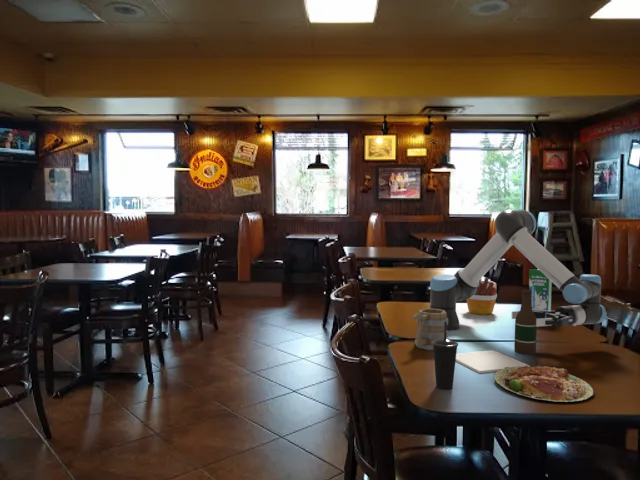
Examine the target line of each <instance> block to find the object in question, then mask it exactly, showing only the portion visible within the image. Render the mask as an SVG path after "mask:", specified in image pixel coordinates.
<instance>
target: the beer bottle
mask: <svg viewBox="0 0 640 480" xmlns="http://www.w3.org/2000/svg"><path fill="white" fill-rule="evenodd" d="M521 293H522V294H521V303H520V308H519V310H518V311H519V313H518V314H517V316H516V319H514V320H515V321H514V345H513V346H514V347H513V348H514V352H516V353H517V354H519V355H520V354H521V355H527V356H529V355H535V353H536V351H537V334H538V333H537V330H538V329H537V328H538V327H537V326H536V316H535V314H534V312H533V311H532V299H531V293H532V290H531V289H529V288H523V289H522V290H521Z"/></svg>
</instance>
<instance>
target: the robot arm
mask: <svg viewBox="0 0 640 480" xmlns="http://www.w3.org/2000/svg"><path fill="white" fill-rule="evenodd" d="M494 220H495V221H494V228H495V231H496V232H495V234H494V235H493V236H492V237H491V238H490V239H489V241H488V242H486V244H485V245H484V246H483V247H482V248H481V249H480V251H478V253H477V254H476V255H475V256H474V257H473V258H472V259H471V261H469V263H468V264H467V265H466V266H465V267H464V268H459V269H458V270H457V271H456V272H455V274H454V275H453V274H438V275H434V276H433V277H431V279H430V284H429V288H430V289H429V290H430V291H429V295H430V296H429V309H440V310H444V311H445V312H446V313H447V318H448V325H447V331H452V330H459V328H460V320H459V317H458V313H457V310H456V309H457V308H456V307H457V302H461V301H467V299H469V298H471V297H472V296H473V295H474V294H475V292H476V290H477V287H478V286H479V280H480V279H482V278H483V277H484V276H485V275H486V274H487V272H489V270H490V269H491V268H492V267H493V266H494V265H495V264H496V263H498V261H499V260H500V259H501V258H502V257H503V256H504V255H505V253H506V252H508V250H509V249H510V248H511V247H512V246H514V247H515V248H516V249H517V251H519V252H520V253H521V255H523V256H524V257H525V258H526V259H528V261H529V262H530V263H532V265H534V266H535V268H537V269H539V270H540V271H541V272H542V273H543V274H544V275H545V276H546V277H547V278H548V279H549V280H550V281H552V284H553V285H555V286H556V288H558V290H560V291H561V292H562V297H563V298H564V300H565V301H566V302H568V303H569V304H573V305H564V306H558V307H557V308H556V309H555V310H551V311H548V310H532V311H533V312H534V314H535V316H536V318H542V319H536V326H537V328H539V327H548V326H549V327H550V326H551V327H553V326H554V327H557V326H558V327H559V328H561V327H566V326H567V327H569V326H573V327H576V326H577V325H578V326H579V325H595V324H600V323H602V322H604V321H605V320H606V319H607V311H606V308H605V306H604V305H602V304H601V297H602V296H601V295H602V278H601V276H600V275H597V274H589V273H588V274H586V273H585V274H584V273H583V274H581V275H580V276H579V278H578V277H577V276H575V274H574V273H573V272H571V271H570V270H569V269H568V268H567V267H566V266H565V265H564V264H563V263H562V262H561V261H559V260H558V259H557V258H556V257H555V256H554V255H553V254H552V253H551V252H549V250H547V248H545V246H543V245H542V244H540V242H539V241H537V239H535V238H534V237H533V236H532V234H533V233H534V232H535V230H536V228H537V220H536V218H535V216H534V214H532V212H531V211H528V210H525V209H506V210H503V211H501V212H499V213H498V214H497V216H496V218H495V219H494ZM577 304H578V305H577ZM519 311H520V310H517V311H516V310H515V311H511V319H512V320H515V319H516V316H517V314H518V313H519ZM545 317H547V318H545Z"/></svg>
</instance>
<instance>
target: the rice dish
mask: <svg viewBox="0 0 640 480" xmlns="http://www.w3.org/2000/svg"><path fill="white" fill-rule="evenodd" d="M527 365H528V364H527ZM527 365H526V366H524V367H520V366H519V367H505V368H504V369H502V370H499V371H497V372H494V380H495V382H496V383H497V384H499V386H501V387H502V388H504V389H505V390H507V391H510V392H512V393H514V394H517V395H518V396H522V397H527V398H528V399H533V400H534V399H535V400H538V401H539V400H541V401H548V402H554V403H557V402H560V403H562V402H565V403H568V402H569V403H571V402H572V403H573V402H581V401H586V400H588V399H590V398H592V397H593V396H594V395H595V389H594V388H593V387H592V386H591V385H590V384H589V383H588V382H587V381H585V380H583V379H582V378H579V377H577V376H575V375H572V374H570V373H569V371H568V370H567V369H565V368H556V367H555V366H554V367H551V366H545V365H543V366H541V365H537V366H530V365H529V366H530V367H529V366H527Z"/></svg>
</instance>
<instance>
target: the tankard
mask: <svg viewBox="0 0 640 480" xmlns="http://www.w3.org/2000/svg"><path fill="white" fill-rule="evenodd" d="M412 319H413V321H416V322H417V328H416V330H415V331H416V332H415V339H414V344H415V346H416V347H417V348H418V349H423V350H425V351H426V350H427V351H434V349H433V344H432V342H433V341H434V340H437V339H440V338H444V322H447V325H448V318H447V313H446V312H445V311H444V310H440V309H430V308H423V309H419V310H418V312H415V314H414V315H413V316H412ZM448 337H449V330H447V333H446V338H448Z"/></svg>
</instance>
